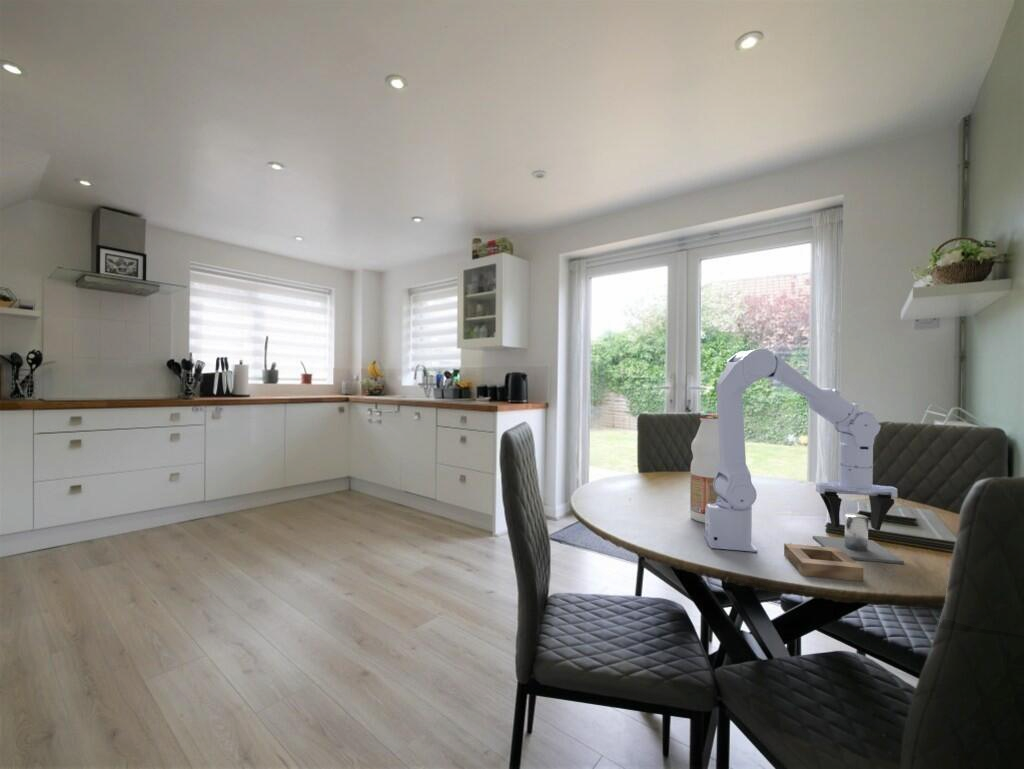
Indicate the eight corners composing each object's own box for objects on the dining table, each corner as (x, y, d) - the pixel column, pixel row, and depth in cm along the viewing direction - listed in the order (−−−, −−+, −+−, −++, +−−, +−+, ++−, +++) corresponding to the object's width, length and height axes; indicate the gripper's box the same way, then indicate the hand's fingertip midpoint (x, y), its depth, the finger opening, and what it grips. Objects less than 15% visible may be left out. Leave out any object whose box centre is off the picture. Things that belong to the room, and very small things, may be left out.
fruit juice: (684, 519, 119) (685, 414, 118) (697, 511, 125) (698, 412, 125) (721, 527, 112) (722, 416, 112) (733, 518, 119) (734, 414, 119)
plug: (848, 550, 96) (848, 517, 96) (841, 543, 100) (842, 512, 100) (870, 552, 95) (871, 519, 95) (863, 546, 99) (864, 514, 98)
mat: (835, 557, 93) (836, 555, 93) (812, 537, 105) (812, 535, 105) (904, 563, 90) (904, 561, 90) (872, 542, 102) (872, 540, 102)
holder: (802, 575, 85) (802, 562, 85) (784, 555, 95) (784, 543, 95) (863, 581, 83) (863, 567, 83) (838, 559, 92) (838, 547, 92)
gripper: (825, 467, 95) (825, 530, 95) (906, 470, 92) (905, 536, 92) (812, 461, 102) (811, 520, 102) (887, 464, 99) (886, 525, 99)
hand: (855, 527), depth 98 cm, fingers open, 7 cm apart
